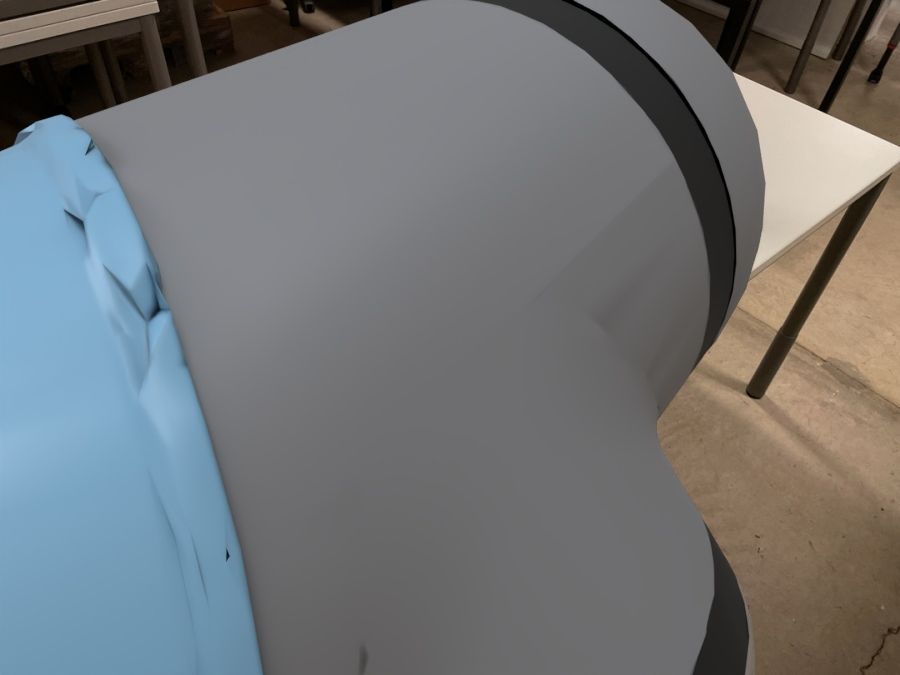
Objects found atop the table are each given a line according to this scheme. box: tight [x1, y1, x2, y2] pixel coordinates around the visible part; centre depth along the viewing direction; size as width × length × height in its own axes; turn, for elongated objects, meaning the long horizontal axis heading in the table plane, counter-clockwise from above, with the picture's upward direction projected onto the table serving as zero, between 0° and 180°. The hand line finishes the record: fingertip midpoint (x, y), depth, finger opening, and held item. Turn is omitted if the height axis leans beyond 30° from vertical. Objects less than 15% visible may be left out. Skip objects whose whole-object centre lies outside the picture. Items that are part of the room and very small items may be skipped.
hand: (411, 262), depth 61 cm, fingers closed
